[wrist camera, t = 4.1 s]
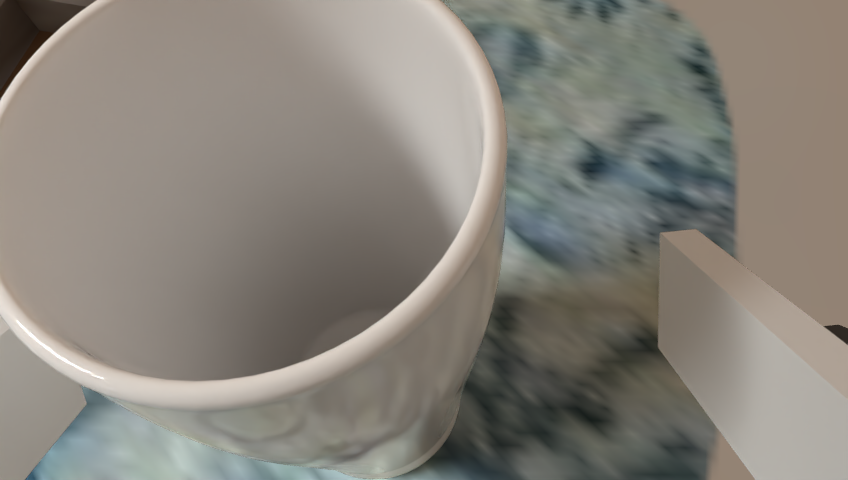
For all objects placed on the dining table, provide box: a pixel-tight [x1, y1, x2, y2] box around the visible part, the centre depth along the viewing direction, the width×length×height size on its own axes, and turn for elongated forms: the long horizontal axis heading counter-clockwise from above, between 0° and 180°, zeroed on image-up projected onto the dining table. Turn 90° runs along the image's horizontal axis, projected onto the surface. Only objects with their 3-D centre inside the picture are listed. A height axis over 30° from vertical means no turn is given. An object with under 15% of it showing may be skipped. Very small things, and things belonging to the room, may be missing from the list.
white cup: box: [0, 0, 507, 479], centre depth 15 cm, size 7×7×15 cm
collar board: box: [0, 0, 96, 100], centre depth 24 cm, size 14×14×4 cm
